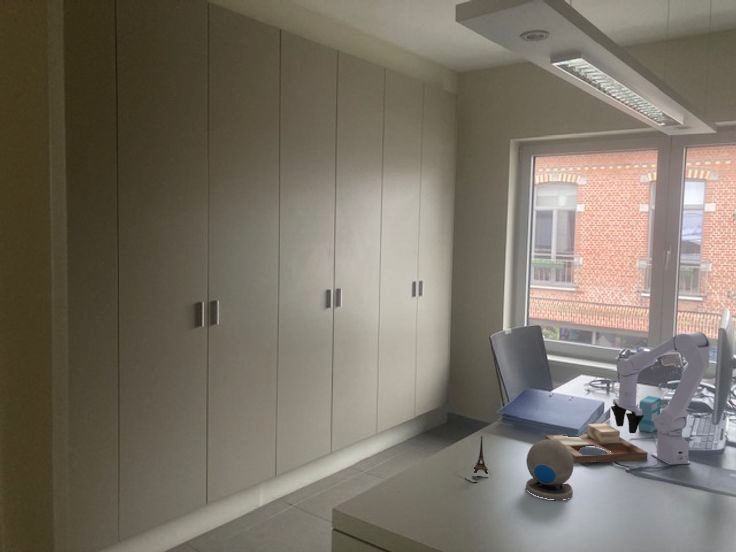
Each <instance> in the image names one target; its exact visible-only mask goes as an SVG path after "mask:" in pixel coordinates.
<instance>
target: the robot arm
mask: <svg viewBox="0 0 736 552" xmlns="http://www.w3.org/2000/svg"><path fill="white" fill-rule="evenodd" d="M711 346H712V344H711V342H710V340H709V337H708V336H707V335H706V334H705V333H704V332H701V331H695V332H694V331H693V332H687V333H679V334H677V335H674V336H672V337H670V338H669V339H667V340H665V341H664V342H663V341H662V342H661V343H660V344H658V345H657V346H655V347H654V348H652V349H649V348H640V349H638V352H636V353H635V354H633V355H632V354H631V355H628V357H627V359H625V358H621V359H620V360H619V361H617V363H616V371H617V372H618V374H619V382H618V383H619V384H618V385H619V386H618V398H613V399H612V405H611V406H610V409H611V411H612V413H613V415H614V418H615V425H616V427H624V424H625V417H626V418H627V423H628V432H629V433H630V434H636V433H637V430H638V429H639V428H638V426H639V423H640V421H641V420H642V418H643V417H644V415H643V414H642V410H641V409H640V408H639V403H637V393H638V392H637V390H638V389H637V388H638V387H637V386H638V377H639V374H640V373H641V371H643V370H645V369H647V368H648V367H650V366H652V365H655V363H656V361H657V359H658V358H660V357H663V356H665V355H666V354H669V353H671V352H673V351H674V352H675V351H678V353H679V354H680V355H681V356H682V357H683V358H684V360H685V361H686V363H687V367H686V368H685V370H684V373H683V374H682V377H681V378H680V380H679V383H678V385H677V387H676V389H675V391H674V392H673V395H672V397H671V399H670V401H669V402H668V404H667V405H666V406H664V408H663V409H661V410H660V414H659V415H657V416H656V417H655V419H654V426H655V428H656V431H657V447H656V452H652V453H650V455H651V456H653V457H654V458H656V459H658V460H660V461H662V462H664V463H665V464H667V465H685V464H689V465H690V464H691V462H690V461H689V448H690V446H689V442H688V441H687V440H686V438H684V436H683V432H684V429H685V428H686V427H687V423H688V422H687V421H688V420H687V419H688V417H689V412H688V411H687V410H688V408H689V406H690V403H691V402H692V399H693V398H694V396H695V394H696V392H697V390H698V389H699V386H700V384H701V382H702V381H703V378H704V377H705V375H706V372H707V371H708V369H709V366H710V348H711ZM627 411H628V412H629V413H628V412H627Z"/></svg>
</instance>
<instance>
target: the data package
mask: <svg viewBox="0 0 736 552" xmlns="http://www.w3.org/2000/svg"><path fill="white" fill-rule="evenodd" d="M661 401H662V399H661V397H657V396H653V395H651V396H650V395H647V396H645V397H644V398H641V400H640V401H639V403H638V407H639V408H640V409H641V410H642V414H643V415H644V417H643V418H642V420H641V421H640V423H639V425H638V428H637V429H638V431H639V432H645V433H647V434H648V433H649V434H652V433H653V432H655V431H657V429H656V428H655V426H654V419H655V417H656V416H657V415H659V414H660V413H661V404H662V402H661Z"/></svg>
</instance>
